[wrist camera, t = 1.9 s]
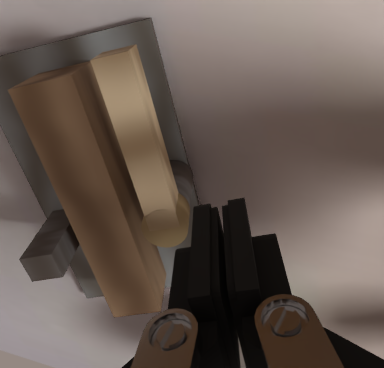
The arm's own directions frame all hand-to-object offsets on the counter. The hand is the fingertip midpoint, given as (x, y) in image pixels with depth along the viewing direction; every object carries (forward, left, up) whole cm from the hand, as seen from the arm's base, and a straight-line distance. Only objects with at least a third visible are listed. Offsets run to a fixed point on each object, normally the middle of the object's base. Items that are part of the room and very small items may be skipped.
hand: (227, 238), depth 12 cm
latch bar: (+6, +3, -16) cm, 17 cm away
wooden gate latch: (+12, +8, -23) cm, 27 cm away
